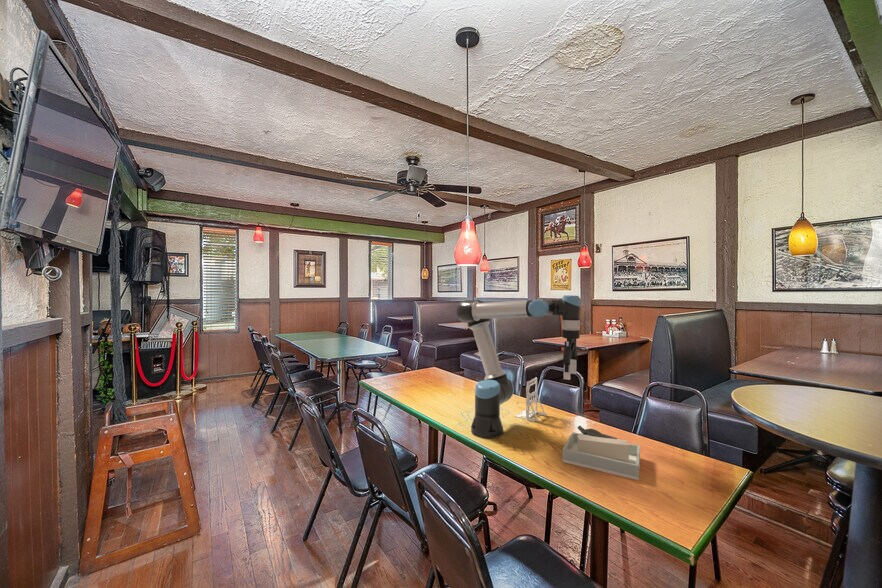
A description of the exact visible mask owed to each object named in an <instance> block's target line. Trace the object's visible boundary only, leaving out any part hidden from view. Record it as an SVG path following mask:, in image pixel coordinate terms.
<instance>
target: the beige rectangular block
mask: <svg viewBox="0 0 882 588" xmlns="http://www.w3.org/2000/svg"><path fill="white" fill-rule="evenodd" d="M628 443H629V442H628V441H627V440H626V439H625V440H624V439H619V438H617V439H611V438H602V437H594V436H585V435H578V440H577V450H578V452H583V453H587V454H592V455H596V456H601V457H605V458H610V459H616V460H624V461H629V445H628Z"/></svg>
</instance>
